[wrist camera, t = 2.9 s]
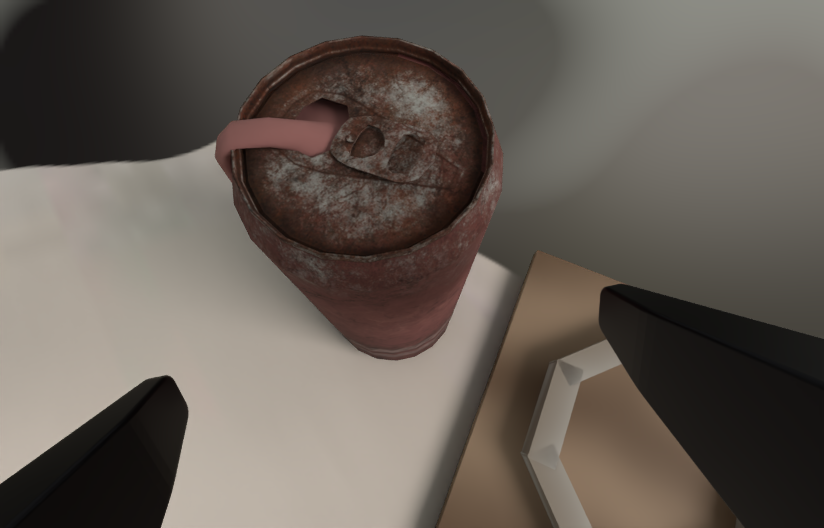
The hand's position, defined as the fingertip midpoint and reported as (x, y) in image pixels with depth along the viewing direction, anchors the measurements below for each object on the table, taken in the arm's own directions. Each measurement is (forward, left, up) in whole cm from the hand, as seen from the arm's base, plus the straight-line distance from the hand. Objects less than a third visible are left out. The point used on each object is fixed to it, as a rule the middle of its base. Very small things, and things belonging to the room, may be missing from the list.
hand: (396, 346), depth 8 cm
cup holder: (+1, -11, -12) cm, 17 cm away
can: (+3, +2, -12) cm, 13 cm away
